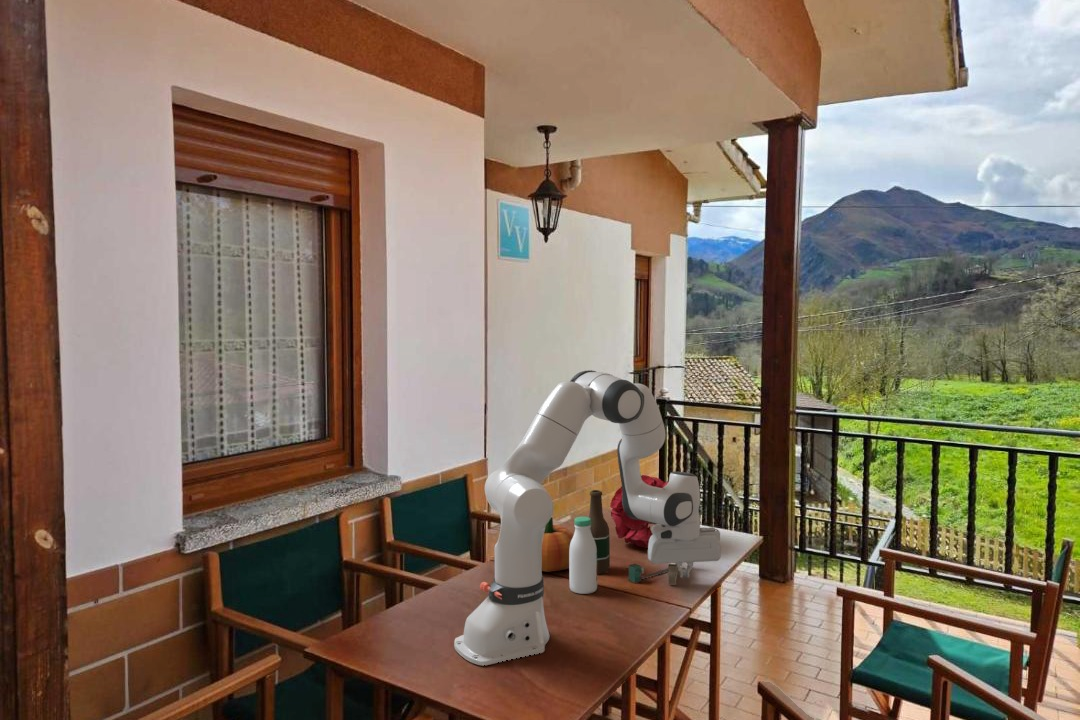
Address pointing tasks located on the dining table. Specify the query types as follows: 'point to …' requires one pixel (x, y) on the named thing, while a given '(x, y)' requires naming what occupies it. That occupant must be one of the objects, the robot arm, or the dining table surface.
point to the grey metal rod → (654, 573)
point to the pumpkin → (555, 547)
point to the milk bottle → (583, 558)
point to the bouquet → (627, 526)
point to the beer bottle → (599, 532)
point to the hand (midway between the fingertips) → (684, 576)
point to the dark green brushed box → (635, 572)
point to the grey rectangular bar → (672, 573)
